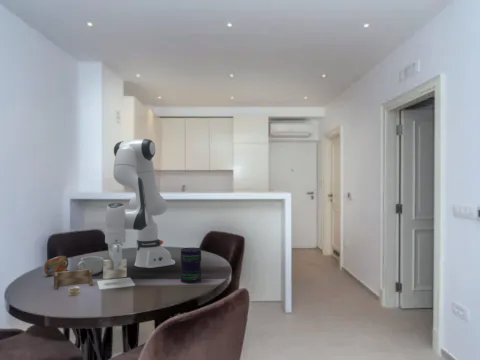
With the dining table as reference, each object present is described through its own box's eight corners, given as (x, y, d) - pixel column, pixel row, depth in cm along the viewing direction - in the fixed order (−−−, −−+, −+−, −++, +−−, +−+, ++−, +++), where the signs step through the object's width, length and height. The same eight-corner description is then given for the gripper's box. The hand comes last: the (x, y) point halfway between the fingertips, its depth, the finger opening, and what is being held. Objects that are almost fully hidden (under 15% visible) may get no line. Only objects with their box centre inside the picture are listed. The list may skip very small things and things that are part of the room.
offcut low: (79, 294, 155) (79, 291, 155) (80, 296, 151) (80, 293, 151) (68, 295, 153) (68, 292, 153) (68, 298, 150) (68, 295, 150)
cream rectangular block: (125, 275, 171) (126, 258, 171) (126, 276, 168) (126, 259, 168) (103, 277, 166) (103, 260, 166) (103, 279, 164) (103, 261, 164)
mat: (130, 278, 177) (130, 277, 177) (135, 285, 164) (135, 284, 164) (97, 281, 171) (97, 281, 171) (99, 290, 158) (99, 289, 158)
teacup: (95, 270, 193) (95, 255, 193) (107, 273, 187) (107, 257, 187) (70, 275, 182) (70, 259, 182) (82, 279, 176) (82, 262, 176)
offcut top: (77, 288, 154) (77, 286, 154) (79, 290, 152) (79, 287, 152) (68, 290, 152) (68, 287, 152) (70, 292, 150) (70, 289, 150)
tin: (48, 277, 178) (48, 260, 178) (43, 277, 179) (43, 260, 179) (68, 270, 193) (69, 254, 193) (63, 269, 194) (63, 254, 194)
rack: (92, 281, 171) (92, 268, 171) (93, 285, 165) (93, 272, 165) (54, 285, 164) (54, 272, 164) (53, 290, 158) (53, 276, 158)
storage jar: (181, 278, 178) (181, 247, 178) (201, 277, 179) (201, 247, 179) (179, 283, 168) (179, 251, 168) (201, 283, 169) (201, 251, 169)
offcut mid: (79, 291, 155) (79, 288, 155) (80, 293, 152) (80, 290, 152) (68, 293, 152) (68, 290, 152) (69, 294, 150) (69, 292, 150)
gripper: (125, 241, 159) (125, 273, 159) (119, 235, 178) (119, 263, 178) (110, 242, 157) (110, 274, 157) (106, 236, 175) (105, 264, 175)
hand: (115, 268), depth 167 cm, fingers closed on cream rectangular block, 2 cm apart
